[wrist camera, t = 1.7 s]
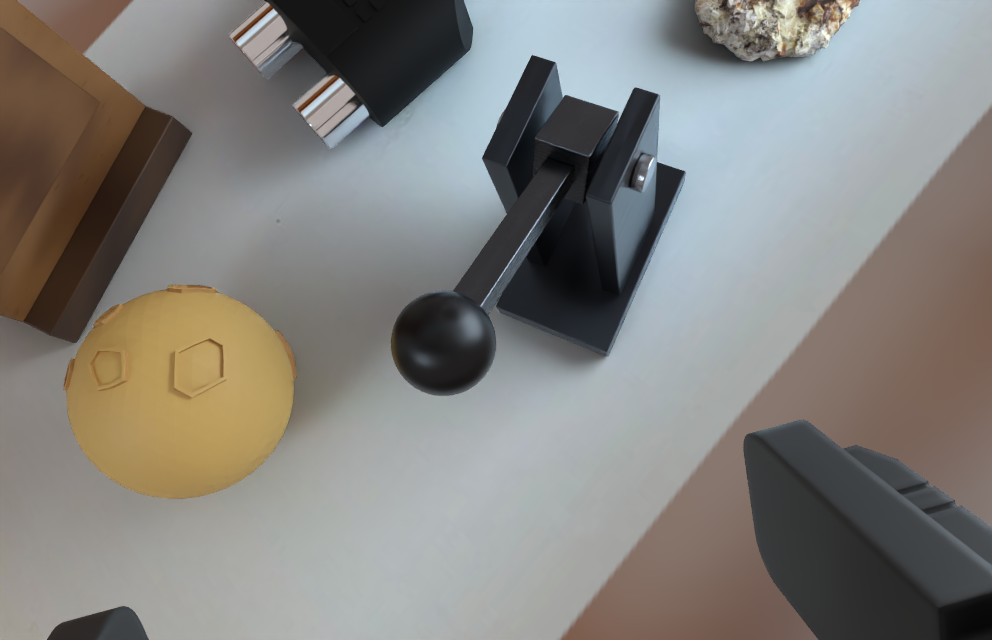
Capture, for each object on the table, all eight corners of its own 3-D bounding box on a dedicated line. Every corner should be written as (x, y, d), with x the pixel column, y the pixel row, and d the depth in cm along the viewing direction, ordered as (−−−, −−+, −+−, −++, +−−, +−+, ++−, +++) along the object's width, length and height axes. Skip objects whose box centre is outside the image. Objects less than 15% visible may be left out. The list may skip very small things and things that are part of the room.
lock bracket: (607, 357, 37) (592, 282, 25) (499, 312, 39) (435, 222, 27) (684, 181, 39) (704, 30, 27) (577, 145, 40) (550, -13, 28)
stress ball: (351, 453, 39) (256, 435, 29) (182, 530, 39) (35, 537, 30) (292, 285, 41) (188, 218, 32) (135, 359, 42) (-12, 316, 33)
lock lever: (465, 431, 23) (463, 374, 20) (376, 389, 24) (363, 330, 21) (621, 172, 30) (634, 106, 27) (548, 147, 31) (553, 81, 28)
